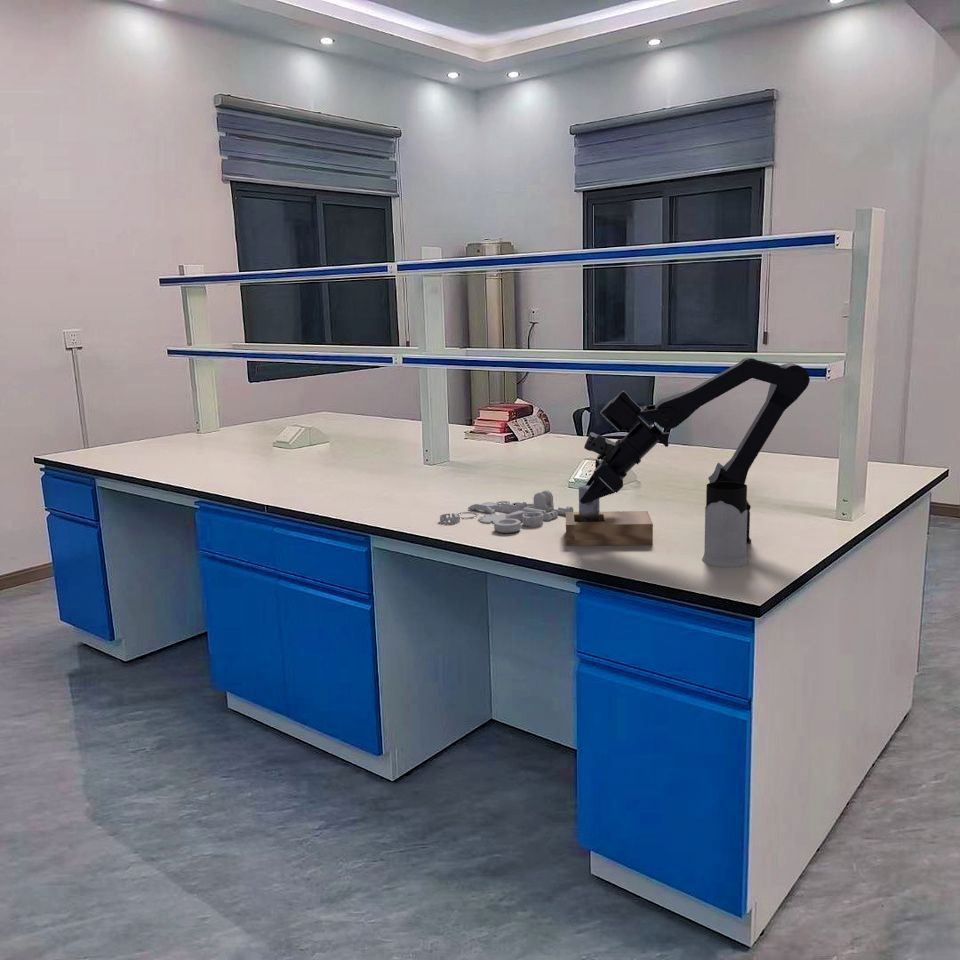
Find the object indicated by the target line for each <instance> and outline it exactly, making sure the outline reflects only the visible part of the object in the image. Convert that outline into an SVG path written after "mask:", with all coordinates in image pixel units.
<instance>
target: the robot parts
mask: <svg viewBox="0 0 960 960" xmlns="http://www.w3.org/2000/svg"><path fill="white" fill-rule="evenodd" d="M501 502H506V503H501ZM514 504H515V505H514ZM500 505H501V506H500ZM554 505H555V504H554V496H553V494H552V491H550V490H547V489H546V490H543V491H542V492H537V493H535V494H534V496H533V503H527V502H525V501H523V502H520V501H519V502H518V501H517V502H510V501H508V500H501V501H496V502H492V501H490V502H482V503H474V504H472V505H470V506H469V507H468V508H467V510H468V509H470V510H469V511H463V512H458V513H443V514H441V515H440V516H439V522H440V523H439V524H443V525H455V524H454V523H456V524H458V522H459V523H460V521H461V520H465V519H464V518H470V519H475V518H474V517H476V518H477V520H478V522H479V523H481V524H485V523H486V524H487V525H490V524H492V525H493V528H494V531H496V532H498V533H501V534H510V533H516V532H518V531H520V530H521V528H522V525H523V526H525V527H529V528H532V527H533V528H535V527H541V526H543V525H544V521H548V522H549V521H550V522H551V521H552V520H554V519H558V517H559V515H562V516H566V512H574V508H573V506H569V505H568V506H566V507H557V509H555V508H554ZM496 510H497V511H496ZM473 511H482V512H484V513H487V514H485V515H481V516H478V517H477V515H479V513H477V512H473ZM496 512H501V513H499V514H497V513H496ZM502 512H503V513H502ZM507 512H508V514H505V513H507ZM461 513H474V514H473V516H468V517H466V516H465V517H462V516H460V515H462V514H461ZM494 513H495V514H494ZM459 514H460V515H459ZM475 514H476V515H475ZM460 518H462V519H460ZM522 523H523V524H522Z"/></svg>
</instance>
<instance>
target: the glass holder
mask: <svg viewBox="0 0 960 960" xmlns="http://www.w3.org/2000/svg"><path fill="white" fill-rule="evenodd" d="M705 494H706V496H705V497H706V498H705V499H706V500H705V502H706V503H705V504H706V506H705V507H704V553H703V555H702V558H701V561H702V562H703V563H704V564H706V565H709V566H712V567H717V568H738V567H740V568H741V567H742V566H746V565H747V564H749V559H748V557H747V556H748V555H747V543H746V542H747V510H746V507H747V501H748V496H747V495H748V485H747V484H746V483H745V484H743V483H739V482H729V481H721V482H712V483H710V482H709V483H707V484H706V493H705Z"/></svg>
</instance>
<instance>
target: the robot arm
mask: <svg viewBox="0 0 960 960" xmlns="http://www.w3.org/2000/svg"><path fill="white" fill-rule="evenodd" d="M751 379H754V380H758V381H762V382H765V383H769V387H768V391H767V396H766V399H765V401H764V403H763V405H762V406H761V408H760V410H759V411H758V413H757V415H756V416H755V418H754V419H753V421H752V423H751V424H750V427H749V428H748V429H747V432H746V433H745V435H744V437H743V438H742V440H741V442H740V443H739V445H738V446H737V448H736V450H735V452H734V453H733V455H732V456H731V458H730V459H729V460H728V461H727V462H726V463H725V464H724V465H723V464H722V463H720V462H717V464H716V465H715V468H714V471H713V473H712V474H711V475H710V476H708V478H707V479H708V482H709V483H712V482H721V481H729V482H739V483H743V484H746V480H747V475H748V473H749V470H750V468H751V467H752V465H753V464H754V461H755V460H756V458H757V457H758V455H759V454H760V452H761V450H762V448H763V447H764V446H765V443H766V442H767V440H768V439H769V437H770V436H771V433H772V432H773V430H774V429H775V427H776V425H777V424H778V422H779V420H780V419H781V417H782V415H783V414H784V412H785V411H786V410H787V409H788V408H789V407H790V406H791V405H793V404H794V403H795V402H796V401H797V400H798V399H799V398H800V397H801V395H802V394H803V393H804V392H805V390H806V389H807V388H808V386H809V384H810V382H811V381H810V380H811V379H810V375H809V372H808V371H807V369H805V368H804V367H803V366H801V365H799V364H796V363H793V362H786V363H783V364H776V363H771V362H767V361H762V360H759V359H756V358H754V357H751V356H750V357H744V358H743V359H741V360H740V361H739V362H737V363H736V364H734V365H732V366H730V367H728V368H727V369H725V370H723V371H721V372H720V373H718V374H716V375H714V376H712V377H711V378H709V379H707V380H706V381H703V382H702V383H701V384H699V385H696V386H694V387H693V388H691V389H688V390H686V391H682V392H678V393H676V394H673V395H669V396H666V397H664V398H662V399H659V400H658V401H657V402H656V403H655V404H652V405H643V406H640V405H638V404H637V403H636V402H635V401H634V400H633V399H632V398H631V397H630V396H629V394H628V393H627V392H626V391H625V390H621V392H619V393H618V394H617V395H616V396H615V397H614V398H613V399H610V401H609V402H607V403H606V404H605V406H604V407H603V408H602V409H601V410H600V412H599V414H600V416H601V415H602V417H603V418H604V419H605V420H606V421H607V422H608V423H610V424H611V426H613V427H614V429H616V430H617V431H618V432H620V431H621V430H622V431H623V432H624V431H625V432H628V431H629V430H630V431H629V432H628V433H627V434H626V435H625V436H624V437H623V438H618V439H617V440H616V441H615V442H614V441H612V440H610V439H608V438H607V437H606V436H602V435H601V434H597V433H595V432H593V431H591V432H590V433H589V435H588V437H587V439H586V442H585V444H584V449H585V450H587V451H589V452H594V453H595V454H598V455H597V456H596V458H595V460H594V461H595V463H594V464H595V467H594V468H595V469H594V470H593V473H592V474H591V476H590V477H589V479H588V480H587V482H586V484H585V485H584V486H590V487H589V488H588V489H587V491H586V492H585V494H584V495H583V496H582V498H581V499H580V502H581V503H582V504H585V503H588V502H591V501H593V500H596V499H598V498H599V499H601V498H603V497H606V496H610V495H613V494H615V493H616V494H617V493H619V492H620V491H621V489H622V488H623V487H624V478H625V477H627V475H628V472H630V470H631V469H632V468H633V467H635V466H636V465H639V464H640V463H641V460H642V459H643V458H644V457H645V456H646V455H647V454H648V453H649V452H650V451H651V450H652V449H653V448H654V447H655V446H656V445H657V444H658V443H659V442H660V443H661V444H662V445H663V447H666V448H667V447H669V437H670V432H668V431H666V432H664V431H662V430H661V429H660V428H662V429H665V430H672V429H675V428H677V427H678V426H680V425H681V424H683V422H684V421H685V420H688V418H689V417H691V416H692V415H693V413H695V412H696V411H697V410H698V409H699V408H701V407H702V406H704V405H706V404H707V403H709V402H712V401H713V400H715V399H717V398H719V397H720V396H722V395H723V394H726V393H727V392H729V391H731V390H732V389H735V388H737V387H739V386H740V385H742V384H743V383H745V382H747V381H749V380H751ZM637 422H638V423H637ZM647 422H651V424H648V423H647ZM636 423H637V424H636ZM655 423H656V424H657V425H656V424H655ZM658 426H659V427H660V428H659V427H658ZM632 427H633V428H632ZM631 428H632V429H631ZM751 508H752V507H751V504H750V502H749V501H748V500H747V507H746V510H747V542H746V544H747V543H752V539H751V537H750V528H751V526H750V523H751V522H750V520H751V512H750V510H751Z"/></svg>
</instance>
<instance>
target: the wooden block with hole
mask: <svg viewBox="0 0 960 960" xmlns="http://www.w3.org/2000/svg"><path fill="white" fill-rule="evenodd" d="M653 526H654V524H653V521H652V518H651V515H650V514H649V511H648V510H626V511H625V510H623V511H620V510H618V511H617V510H616V511H615V510H614V511H612V510H611V511H600V522H579V511H573V512H566V515H565V538H566V539H565V542H566V543H565V545H566V546H567V547H568V546H569V547H570V546H571V547H572V546H573V547H574V546H644V545H645V546H653V545H654V541H653V540H654V539H653V537H654V535H653V533H654V531H653V530H654V527H653Z"/></svg>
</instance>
